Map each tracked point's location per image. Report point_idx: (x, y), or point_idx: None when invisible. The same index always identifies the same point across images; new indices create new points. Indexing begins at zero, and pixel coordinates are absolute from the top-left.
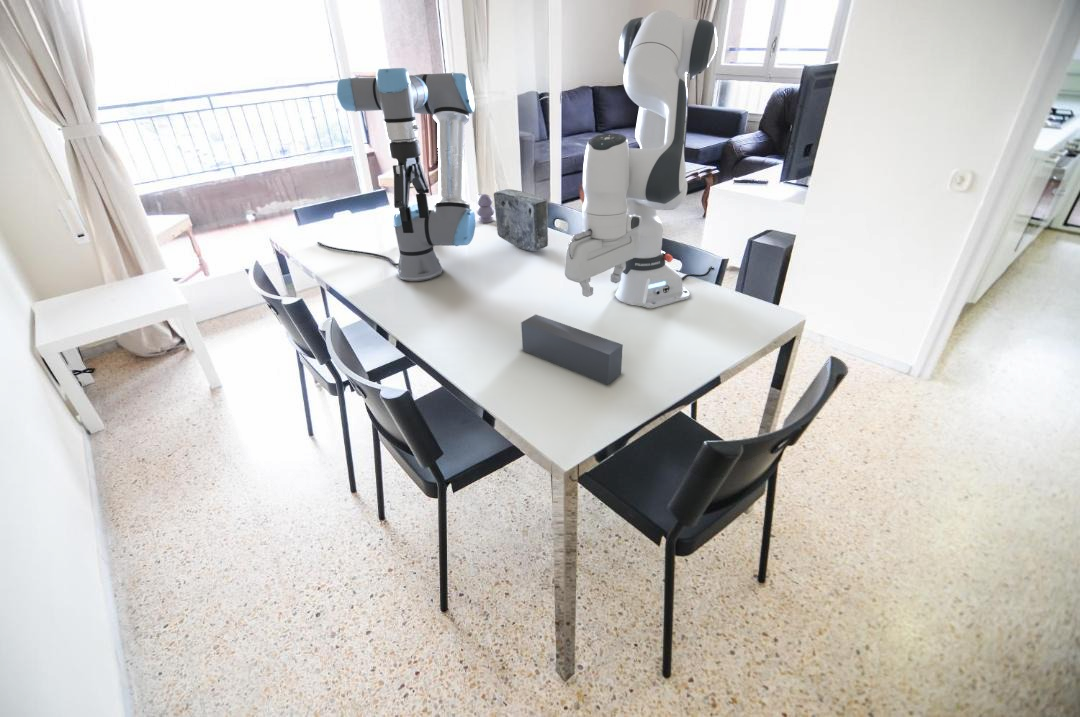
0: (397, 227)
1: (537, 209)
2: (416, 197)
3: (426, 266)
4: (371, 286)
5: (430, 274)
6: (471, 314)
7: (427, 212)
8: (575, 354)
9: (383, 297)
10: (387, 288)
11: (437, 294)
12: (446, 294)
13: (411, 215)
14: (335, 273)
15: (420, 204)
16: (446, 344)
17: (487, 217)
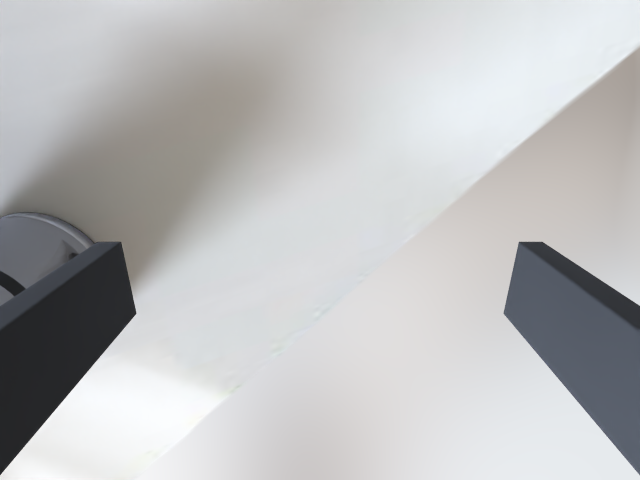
0: None
1: None
2: (5, 465)
3: (53, 256)
4: (166, 368)
5: (69, 236)
6: (318, 19)
7: (93, 267)
8: None
9: (227, 318)
10: (170, 327)
11: (185, 178)
12: (180, 149)
13: (623, 317)
14: (108, 467)
15: (57, 368)
16: (512, 54)
17: None
